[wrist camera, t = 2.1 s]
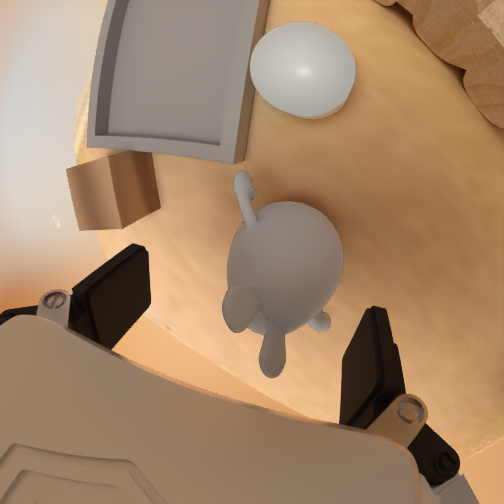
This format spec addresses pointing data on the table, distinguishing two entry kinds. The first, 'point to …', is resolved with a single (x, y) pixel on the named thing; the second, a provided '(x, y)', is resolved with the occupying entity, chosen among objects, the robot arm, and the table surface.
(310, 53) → the pale grey egg shape
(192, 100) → the tray
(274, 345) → the toy figure
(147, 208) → the walnut cube
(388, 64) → the table surface
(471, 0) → the stepped wooden block
